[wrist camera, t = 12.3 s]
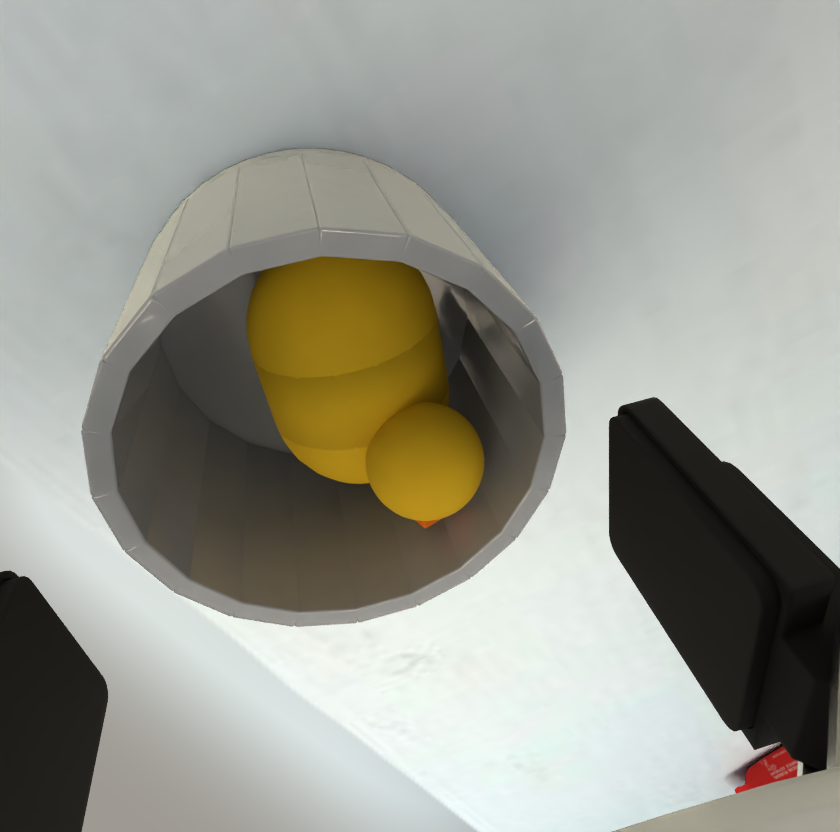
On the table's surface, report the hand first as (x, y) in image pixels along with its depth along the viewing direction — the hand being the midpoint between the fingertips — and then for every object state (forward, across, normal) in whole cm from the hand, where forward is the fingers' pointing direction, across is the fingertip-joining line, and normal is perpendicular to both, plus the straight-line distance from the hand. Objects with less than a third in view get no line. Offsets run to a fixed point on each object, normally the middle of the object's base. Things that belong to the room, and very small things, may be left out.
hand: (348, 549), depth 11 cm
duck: (+9, 0, 0) cm, 9 cm away
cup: (+10, 0, 0) cm, 10 cm away
